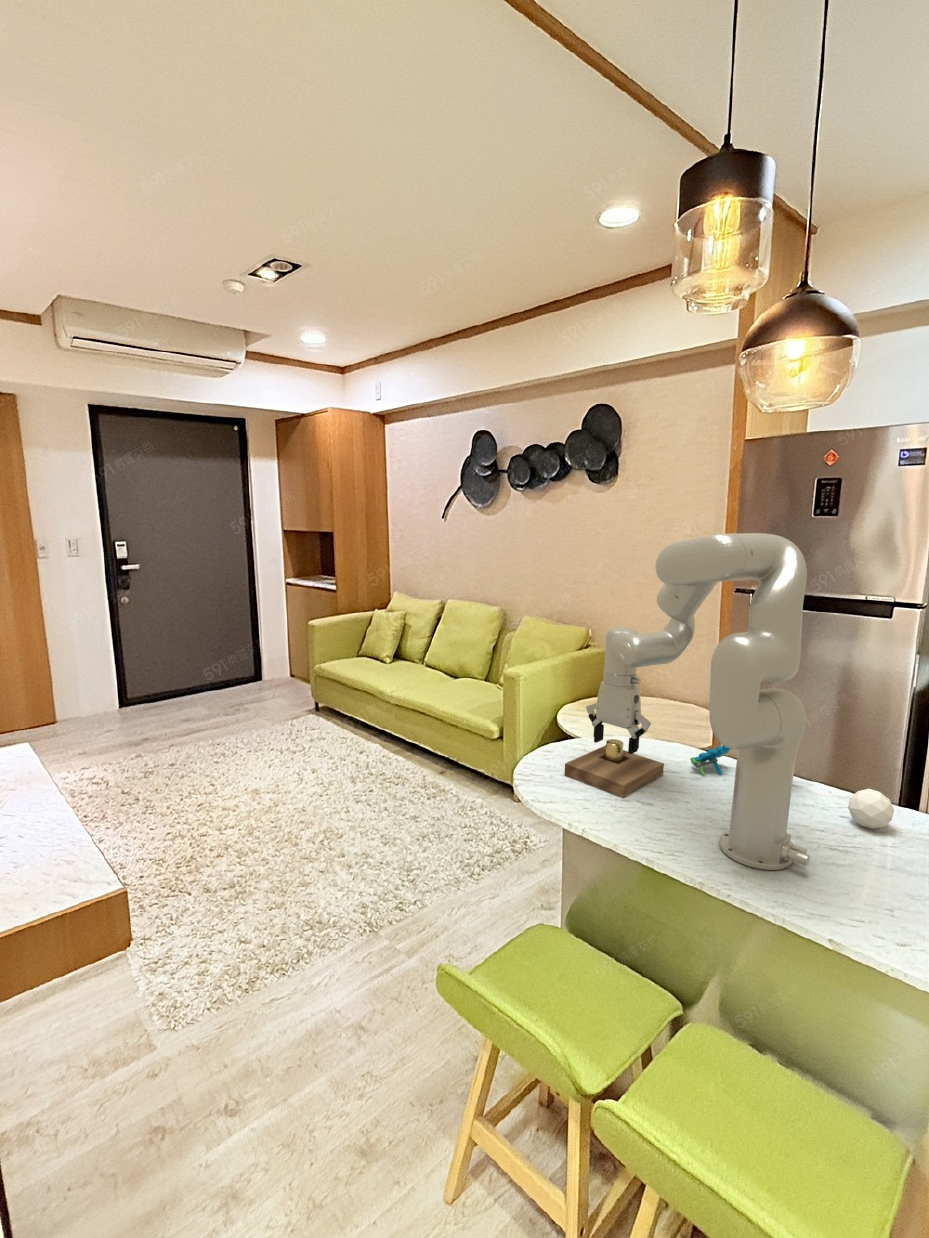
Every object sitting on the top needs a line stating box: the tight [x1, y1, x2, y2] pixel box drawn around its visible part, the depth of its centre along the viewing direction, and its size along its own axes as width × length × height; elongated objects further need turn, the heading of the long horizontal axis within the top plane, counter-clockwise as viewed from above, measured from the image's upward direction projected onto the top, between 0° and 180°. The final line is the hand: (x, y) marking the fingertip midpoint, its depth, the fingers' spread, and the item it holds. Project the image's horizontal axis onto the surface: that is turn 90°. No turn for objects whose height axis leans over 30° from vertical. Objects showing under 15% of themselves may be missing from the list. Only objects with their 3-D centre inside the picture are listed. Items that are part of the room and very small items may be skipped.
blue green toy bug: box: [689, 745, 732, 777], centre depth 153 cm, size 11×6×10 cm
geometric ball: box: [847, 788, 895, 830], centre depth 128 cm, size 8×8×8 cm
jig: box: [564, 745, 665, 799], centre depth 150 cm, size 16×18×3 cm
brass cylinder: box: [605, 738, 624, 764], centre depth 153 cm, size 4×4×7 cm
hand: (615, 746), depth 153 cm, fingers open, 9 cm apart
